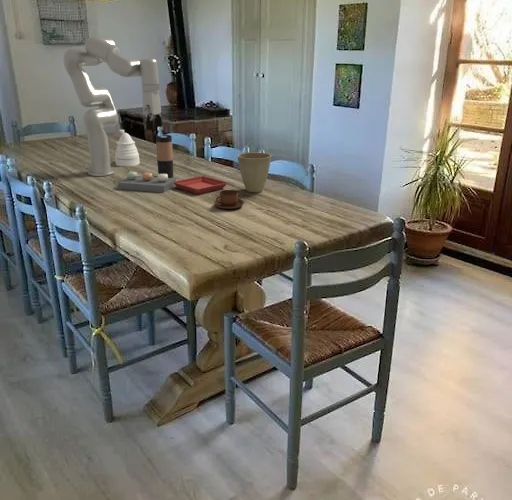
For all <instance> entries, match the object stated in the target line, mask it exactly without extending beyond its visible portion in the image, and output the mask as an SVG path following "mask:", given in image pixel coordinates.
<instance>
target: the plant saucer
mask: <svg viewBox="0 0 512 500" xmlns="http://www.w3.org/2000/svg"><path fill="white" fill-rule="evenodd" d="M173 183H174V184H175V186H176V187H177V188H178V189H180V190H184V191H186V192H190V193H193V194H196V195H201V194H204V193H210V192H213V191H219V190H222V189H224V188H225V187H226V185H228V182H226V181H223V180H219V179H216V178H212V177H208V176H204V175H202V176H197V177H191V178H185V179H181V180H176V181H175V182H173Z"/></svg>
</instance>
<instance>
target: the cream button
mask: <svg viewBox="0 0 512 500" xmlns="http://www.w3.org/2000/svg"><path fill="white" fill-rule="evenodd" d="M156 177H158V180H159V181H166V180H168V174H157V176H156Z"/></svg>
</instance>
